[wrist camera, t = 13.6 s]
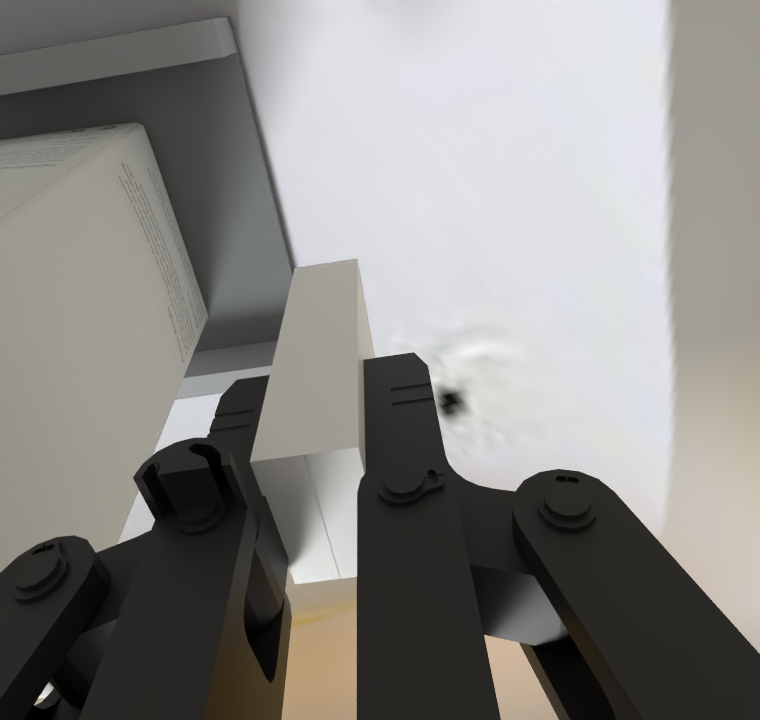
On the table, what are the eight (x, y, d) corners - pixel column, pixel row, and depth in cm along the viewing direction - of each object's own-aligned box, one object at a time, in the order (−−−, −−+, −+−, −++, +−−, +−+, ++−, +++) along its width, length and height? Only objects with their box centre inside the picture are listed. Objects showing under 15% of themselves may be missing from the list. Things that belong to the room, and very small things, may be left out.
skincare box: (-27, 139, 19) (-821, 422, 6) (157, 115, 19) (-267, 355, 6) (72, 342, 24) (-271, 750, 11) (222, 324, 24) (57, 719, 11)
